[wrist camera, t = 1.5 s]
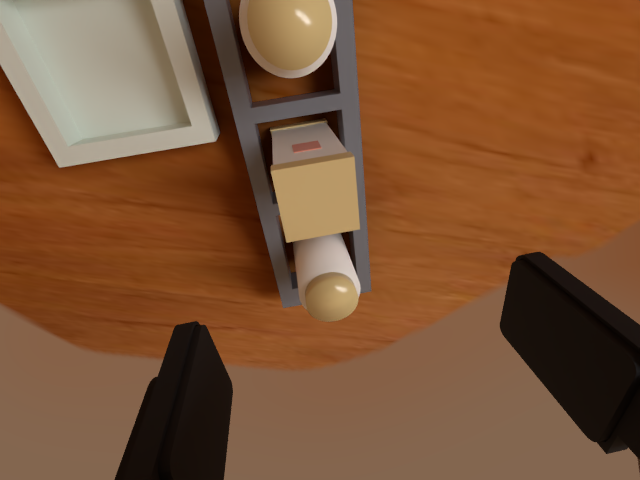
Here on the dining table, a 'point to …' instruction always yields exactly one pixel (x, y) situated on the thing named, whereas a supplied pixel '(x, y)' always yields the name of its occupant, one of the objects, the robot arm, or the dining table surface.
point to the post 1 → (288, 34)
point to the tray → (106, 76)
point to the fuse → (313, 181)
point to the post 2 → (326, 277)
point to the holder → (252, 113)
